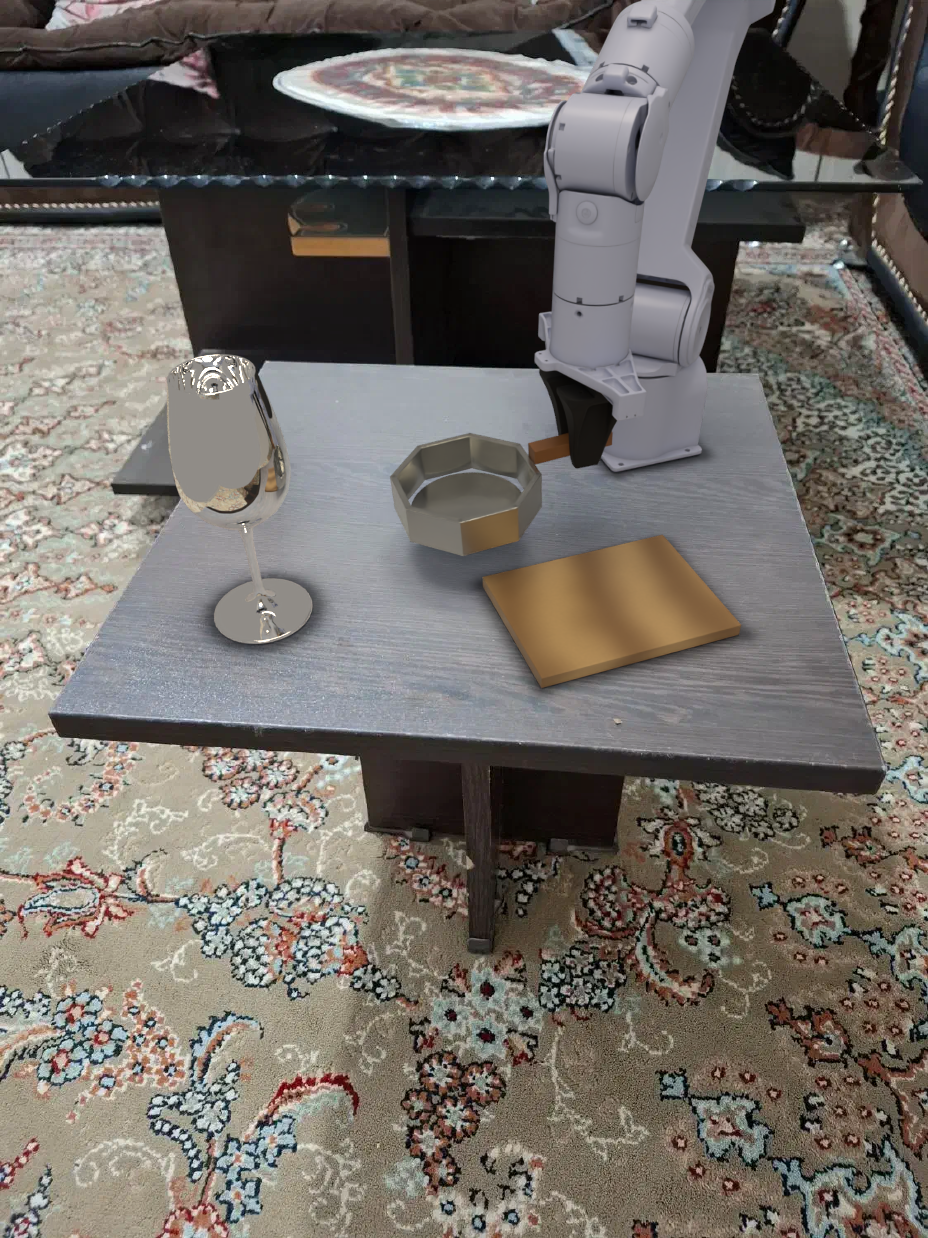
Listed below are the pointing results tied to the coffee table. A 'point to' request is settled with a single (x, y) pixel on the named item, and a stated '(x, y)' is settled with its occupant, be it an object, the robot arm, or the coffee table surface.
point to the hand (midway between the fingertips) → (580, 457)
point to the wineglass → (234, 481)
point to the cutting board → (607, 609)
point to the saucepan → (472, 491)
